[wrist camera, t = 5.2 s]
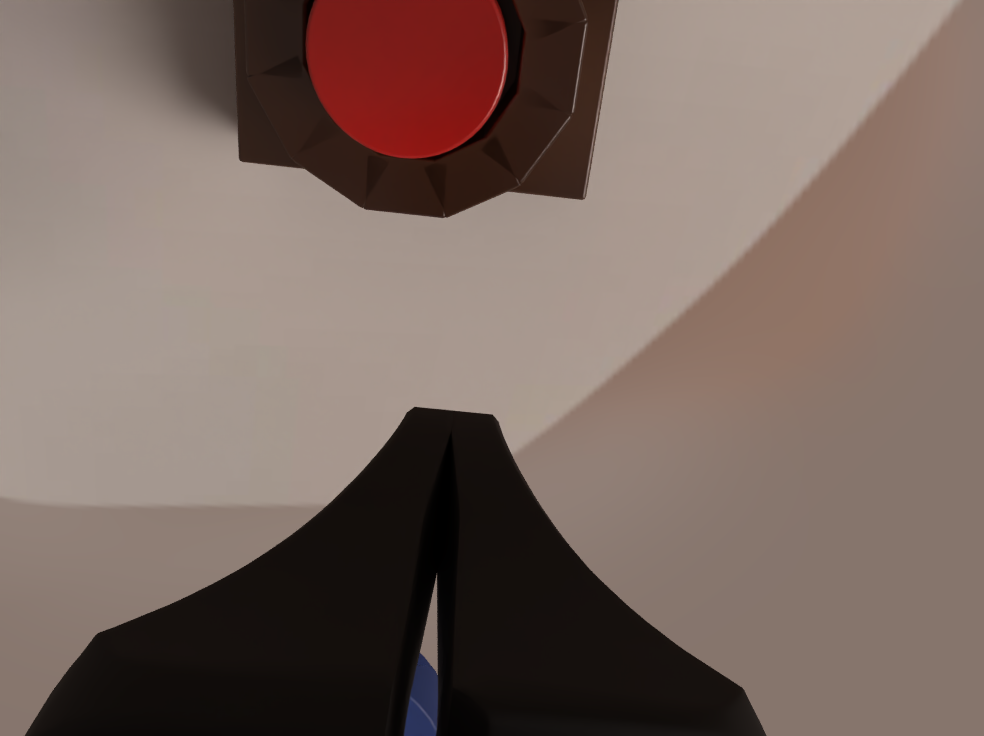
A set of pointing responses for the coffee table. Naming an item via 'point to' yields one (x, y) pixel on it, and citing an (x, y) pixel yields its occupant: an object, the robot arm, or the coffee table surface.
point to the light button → (408, 70)
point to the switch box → (463, 170)
